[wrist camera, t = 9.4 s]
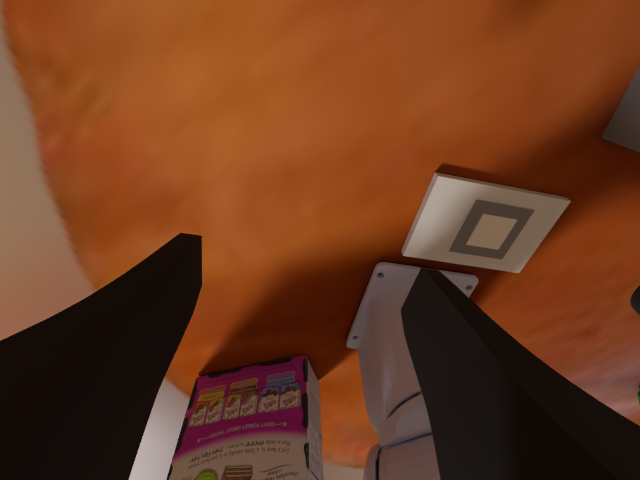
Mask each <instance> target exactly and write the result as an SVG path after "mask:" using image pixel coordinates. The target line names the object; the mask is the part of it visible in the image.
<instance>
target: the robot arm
mask: <svg viewBox="0 0 640 480" xmlns="http://www.w3.org/2000/svg"><path fill="white" fill-rule="evenodd" d="M379 273H382V274H381V275H378V274H379ZM478 282H479V281H478V278H477V277H476V276H475V275H471V274H464V273H457V272H450V271H443V270H436V269H429V268H422V267H416V266H409V265H402V264H395V263H388V262H379V263H378V264H376V266H375V268H374V271H373V273H372V276H371V278H370V281H369V283H368V286H367V289H366V291H365V294H364V296H363V299H362V302H361V304H360V307H359V309H358V312H357V315H356V317H355V320H354V322H353V325H352V327H351V330H350V333H349V335H348V338H347V340H346V346H347V347H348V348H352V349H357V350H358V357H359V363H360V370H361V376H362V383H363V390H364V396H365V403H366V410H367V414H368V417H369V420H370V422H371V424H372V426H373V428H374V430H375V431H376V433H377V434H378V436H379V442H380V443H379V444H376V445H374V446H373V447H372V448H371V449H370V451H369V453H368V456H367V460H366V465H365V469H364V474H363V480H640V426H639V425H637V424H635V423H634V422H632V421H630V420H629V419H627V418H625V417H624V416H622V415H620V414H619V413H617V412H616V411H614V410H612V409H611V408H609V407H608V406H606V405H604V404H603V403H601V402H600V401H598V400H597V399H595V398H594V397H592V396H591V395H589V394H588V393H586V392H585V391H583V390H582V389H580V388H579V387H577V386H576V385H574V384H573V383H571V382H570V381H569V380H567V379H566V378H564V377H563V376H562V375H560V374H559V373H557V372H556V371H555V370H553V369H552V368H551V367H549V366H548V365H547V364H545V363H544V362H543V361H541V360H540V359H539V358H537V357H536V356H535V355H534V354H532V353H531V352H530V351H528V350H527V349H526V348H525V347H523V346H522V345H521V344H520V343H519V342H517V341H516V340H515V339H514V338H513V337H512V336H510V335H509V334H508V333H507V332H506V331H505V330H503V329H502V328H501V327H500V326H499V325H498V324H497V323H496V322H494V321H493V320H492V319H491V318H490V317H489V316H488V315H487V314H486V313H484V312H483V311H482V310H481V309H480V308H479V307H478V306H477V305H476V304H475V303H474V302H473V301H472V300H471V299H470V298H469V296H470V295H471V293H472V292H473V290H474V289H475V287H476V286H477V284H478ZM468 285H469V286H468ZM201 286H202V236H199V235H192V234H185V233H180V234H179V235H177V236H176V237H174V238H173V239H172V240H170V241H169V242H168V243H166V244H165V245H164V246H162V247H161V248H160V249H158V250H157V251H155V252H154V253H153V254H151V255H150V256H149V257H147V258H146V259H145V260H143V261H142V262H140V263H139V264H137V265H136V266H135V267H133V268H132V269H130V270H129V271H127V272H126V273H125V274H123V275H122V276H120V277H119V278H117V279H115V280H114V281H112V282H111V283H109V284H108V285H106V286H104V287H103V288H101V289H100V290H98V291H97V292H95V293H93V294H92V295H90V296H88V297H87V298H85V299H83V300H81V301H80V302H78V303H76V304H74V305H72V306H71V307H69V308H67V309H65V310H63V311H61V312H59V313H57V314H55V315H54V316H52V317H50V318H48V319H46V320H44V321H42V322H40V323H37V324H35V325H33V326H31V327H29V328H27V329H25V330H23V331H20V332H18V333H16V334H14V335H12V336H10V337H8V338H6V339H3V340H1V341H0V480H128V479H129V476H130V473H131V470H132V467H133V464H134V461H135V457H136V455H137V452H138V448H139V446H140V443H141V439H142V436H143V433H144V430H145V427H146V424H147V422H148V419H149V416H150V413H151V410H152V407H153V404H154V401H155V399H156V395H157V393H158V390H159V388H160V386H161V383H162V381H163V379H164V376H165V374H166V372H167V370H168V368H169V365H170V363H171V361H172V359H173V357H174V354H175V352H176V350H177V348H178V346H179V344H180V341H181V339H182V337H183V335H184V333H185V330H186V328H187V326H188V324H189V322H190V319H191V317H192V315H193V312H194V309H195V306H196V303H197V300H198V296H199V293H200V290H201ZM467 286H468V287H467Z"/></svg>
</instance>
